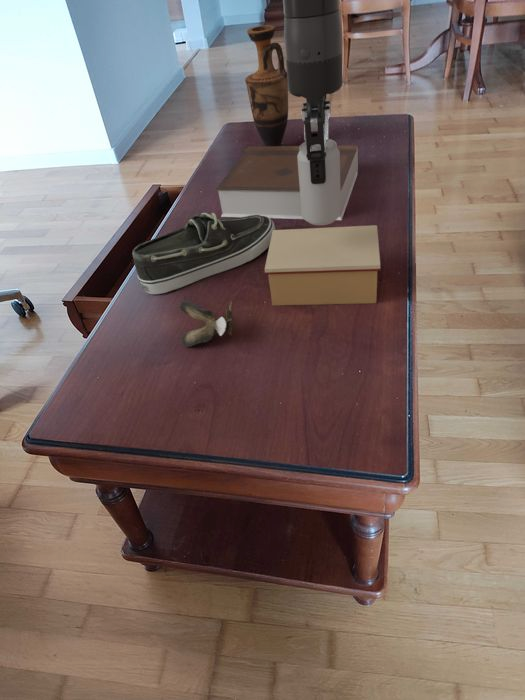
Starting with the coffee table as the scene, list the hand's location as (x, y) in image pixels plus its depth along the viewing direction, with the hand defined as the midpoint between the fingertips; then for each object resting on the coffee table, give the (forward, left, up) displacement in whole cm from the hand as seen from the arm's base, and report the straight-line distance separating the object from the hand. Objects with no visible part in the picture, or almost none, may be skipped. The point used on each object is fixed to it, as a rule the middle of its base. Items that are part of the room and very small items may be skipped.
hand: (319, 172), depth 79 cm
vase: (+16, -64, -21) cm, 69 cm away
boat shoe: (+23, -9, -21) cm, 33 cm away
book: (+9, -38, -21) cm, 45 cm away
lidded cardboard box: (0, 0, -21) cm, 21 cm away
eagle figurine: (+19, +14, -21) cm, 32 cm away
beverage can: (0, 0, -8) cm, 8 cm away
